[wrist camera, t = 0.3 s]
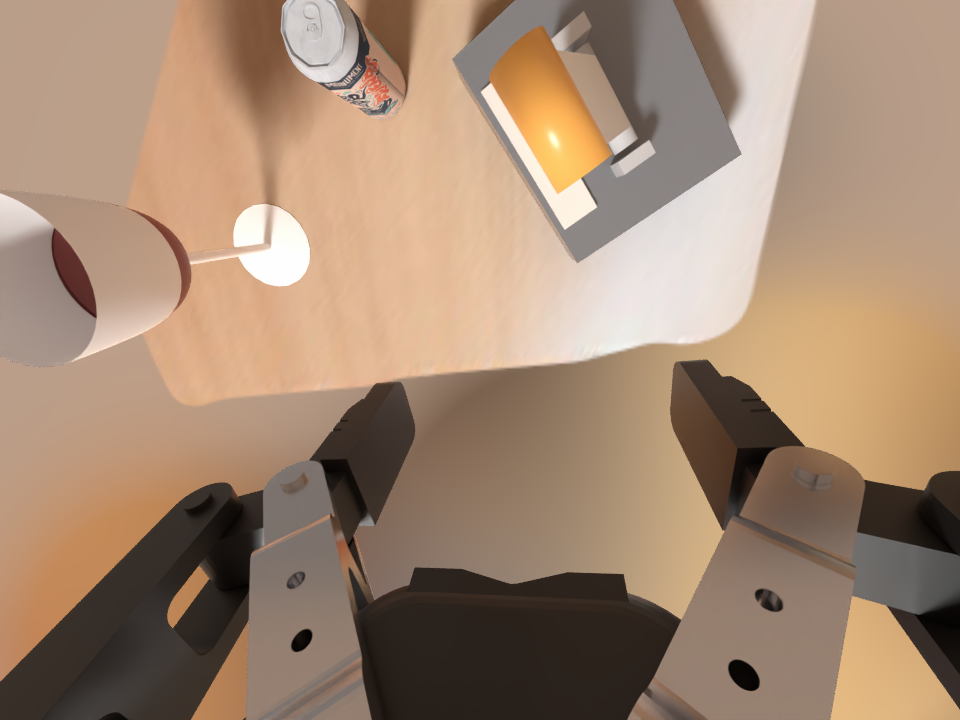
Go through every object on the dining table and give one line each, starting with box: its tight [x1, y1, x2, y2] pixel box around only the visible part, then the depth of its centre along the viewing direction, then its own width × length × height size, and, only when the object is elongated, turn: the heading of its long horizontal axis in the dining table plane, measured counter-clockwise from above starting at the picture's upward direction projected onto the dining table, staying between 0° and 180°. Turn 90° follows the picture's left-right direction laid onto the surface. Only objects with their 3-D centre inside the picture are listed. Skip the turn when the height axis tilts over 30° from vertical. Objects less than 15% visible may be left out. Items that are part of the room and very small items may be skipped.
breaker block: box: [452, 0, 741, 263], centre depth 29 cm, size 14×18×8 cm
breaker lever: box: [489, 26, 638, 194], centre depth 22 cm, size 3×7×15 cm, turn 36°
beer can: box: [281, 0, 406, 119], centre depth 28 cm, size 5×5×12 cm
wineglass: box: [0, 190, 310, 367], centre depth 29 cm, size 9×10×22 cm
